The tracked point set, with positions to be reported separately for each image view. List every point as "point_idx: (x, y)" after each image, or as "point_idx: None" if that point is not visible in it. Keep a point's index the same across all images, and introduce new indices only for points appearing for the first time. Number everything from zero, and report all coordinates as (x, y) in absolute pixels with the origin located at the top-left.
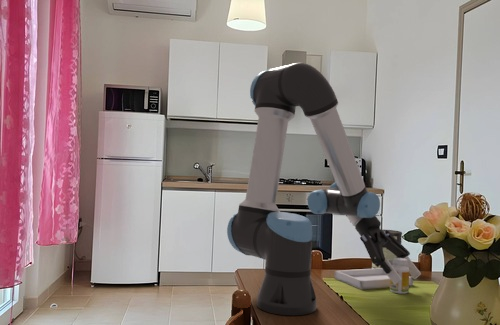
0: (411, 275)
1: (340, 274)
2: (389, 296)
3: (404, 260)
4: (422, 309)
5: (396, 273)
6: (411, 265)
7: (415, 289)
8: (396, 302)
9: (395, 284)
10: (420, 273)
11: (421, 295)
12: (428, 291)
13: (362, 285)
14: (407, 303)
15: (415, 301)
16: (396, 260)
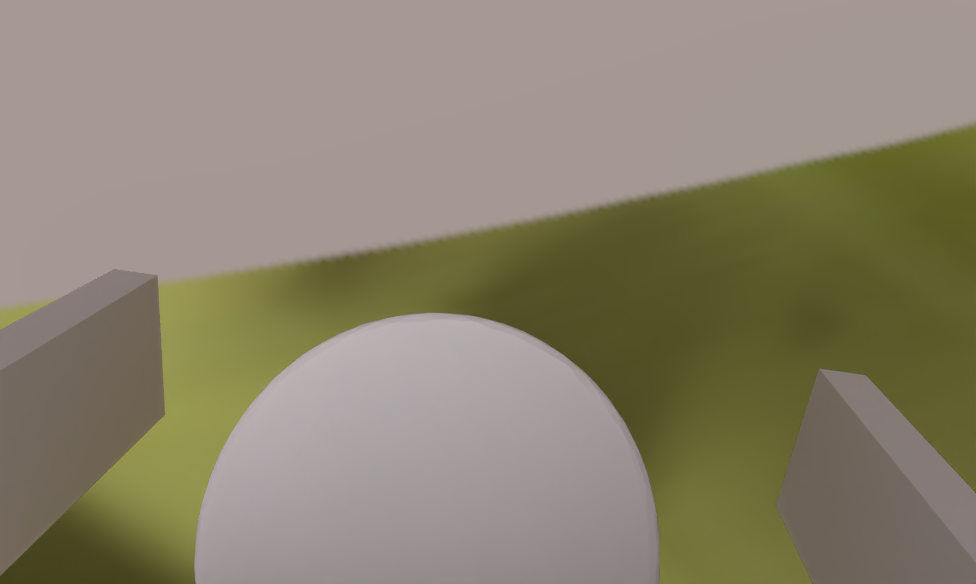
0: (126, 448)
1: None
2: (800, 577)
3: (540, 340)
4: (931, 152)
5: (919, 441)
6: (9, 408)
7: (166, 447)
8: (960, 408)
9: (779, 507)
10: (130, 275)
11: (426, 301)
12: (169, 297)
13: None
14: (880, 309)
15: (730, 274)
16: (657, 569)
